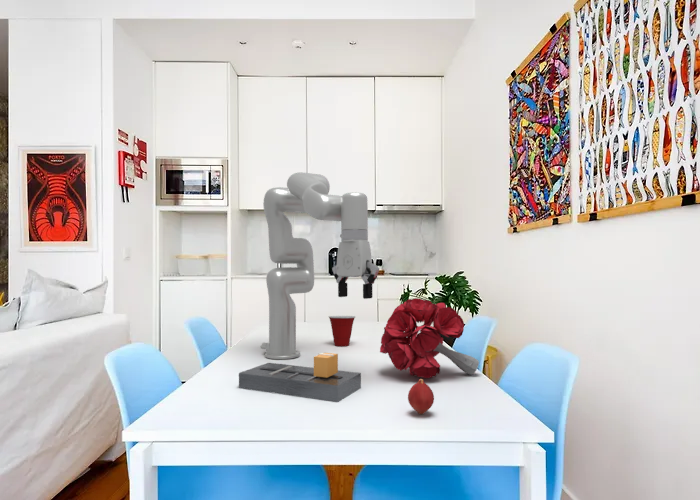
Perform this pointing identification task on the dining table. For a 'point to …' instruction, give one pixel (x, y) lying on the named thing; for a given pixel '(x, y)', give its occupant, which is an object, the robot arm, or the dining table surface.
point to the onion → (420, 397)
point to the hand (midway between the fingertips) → (355, 297)
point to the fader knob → (325, 364)
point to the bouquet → (424, 338)
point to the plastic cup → (341, 329)
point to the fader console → (300, 382)
